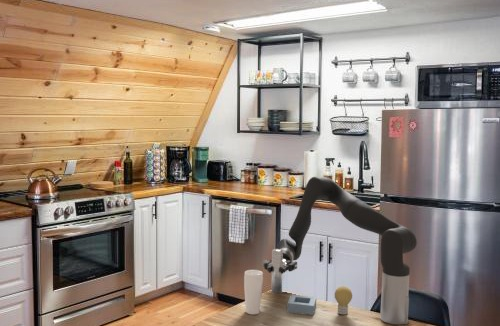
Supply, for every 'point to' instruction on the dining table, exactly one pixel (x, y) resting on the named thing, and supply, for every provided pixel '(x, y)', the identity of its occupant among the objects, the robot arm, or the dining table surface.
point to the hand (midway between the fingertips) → (275, 270)
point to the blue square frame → (301, 304)
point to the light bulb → (343, 299)
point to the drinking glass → (253, 291)
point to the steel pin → (277, 271)
